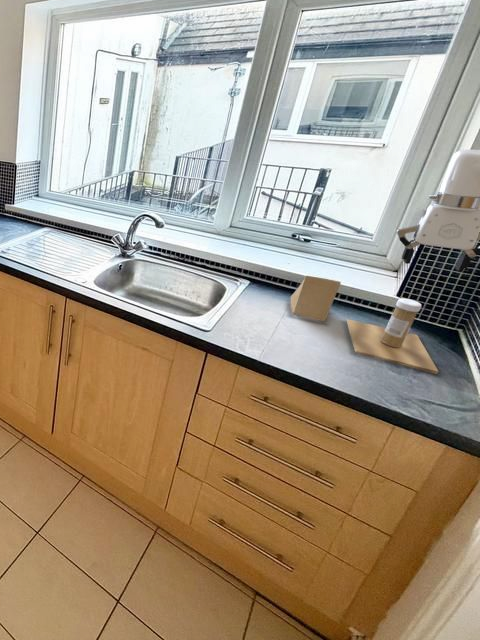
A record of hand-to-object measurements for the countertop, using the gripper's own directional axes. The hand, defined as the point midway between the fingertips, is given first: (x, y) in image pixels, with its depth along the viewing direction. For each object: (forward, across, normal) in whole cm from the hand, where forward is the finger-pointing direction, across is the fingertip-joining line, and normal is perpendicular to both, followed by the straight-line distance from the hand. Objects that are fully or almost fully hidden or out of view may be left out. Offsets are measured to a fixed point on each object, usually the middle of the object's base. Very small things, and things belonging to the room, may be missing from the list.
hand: (431, 266), depth 109 cm
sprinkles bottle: (+24, -2, 0) cm, 24 cm away
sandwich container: (+25, -20, +14) cm, 35 cm away
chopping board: (+25, -2, 0) cm, 26 cm away
